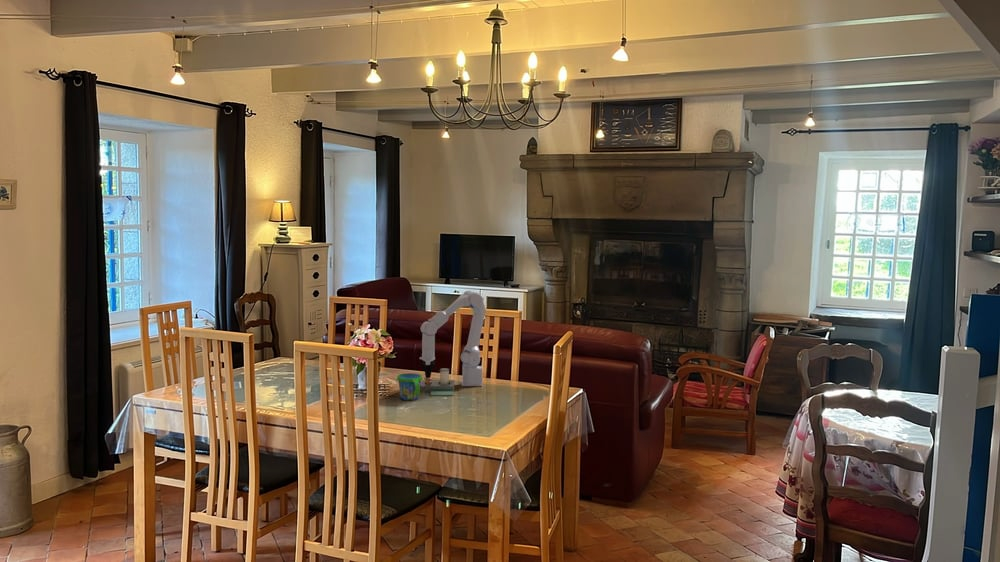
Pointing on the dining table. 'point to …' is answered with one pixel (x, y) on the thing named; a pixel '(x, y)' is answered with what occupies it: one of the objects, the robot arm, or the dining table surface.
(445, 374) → the cylinder
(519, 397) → the dining table surface
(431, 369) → the robot arm
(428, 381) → the plunger
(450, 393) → the mat
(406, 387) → the snack cup
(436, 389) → the housing
